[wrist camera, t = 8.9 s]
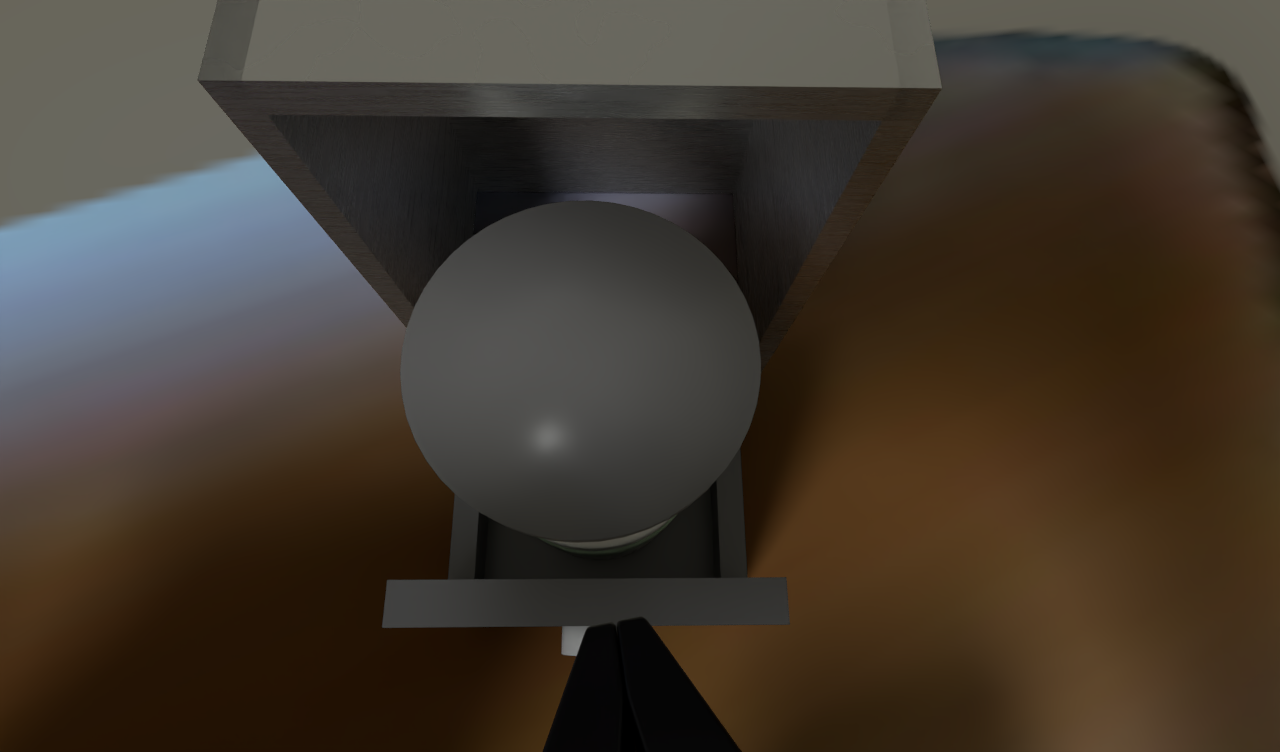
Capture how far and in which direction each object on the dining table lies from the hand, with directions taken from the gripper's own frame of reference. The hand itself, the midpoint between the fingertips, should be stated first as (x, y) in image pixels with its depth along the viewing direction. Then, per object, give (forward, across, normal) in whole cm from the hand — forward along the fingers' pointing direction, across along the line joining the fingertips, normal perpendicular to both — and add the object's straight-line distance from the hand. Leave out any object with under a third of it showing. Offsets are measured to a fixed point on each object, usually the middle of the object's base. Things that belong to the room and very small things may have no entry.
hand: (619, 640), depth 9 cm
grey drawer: (+12, 0, +7) cm, 14 cm away
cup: (+12, 0, +6) cm, 13 cm away
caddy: (+19, -1, 0) cm, 19 cm away
